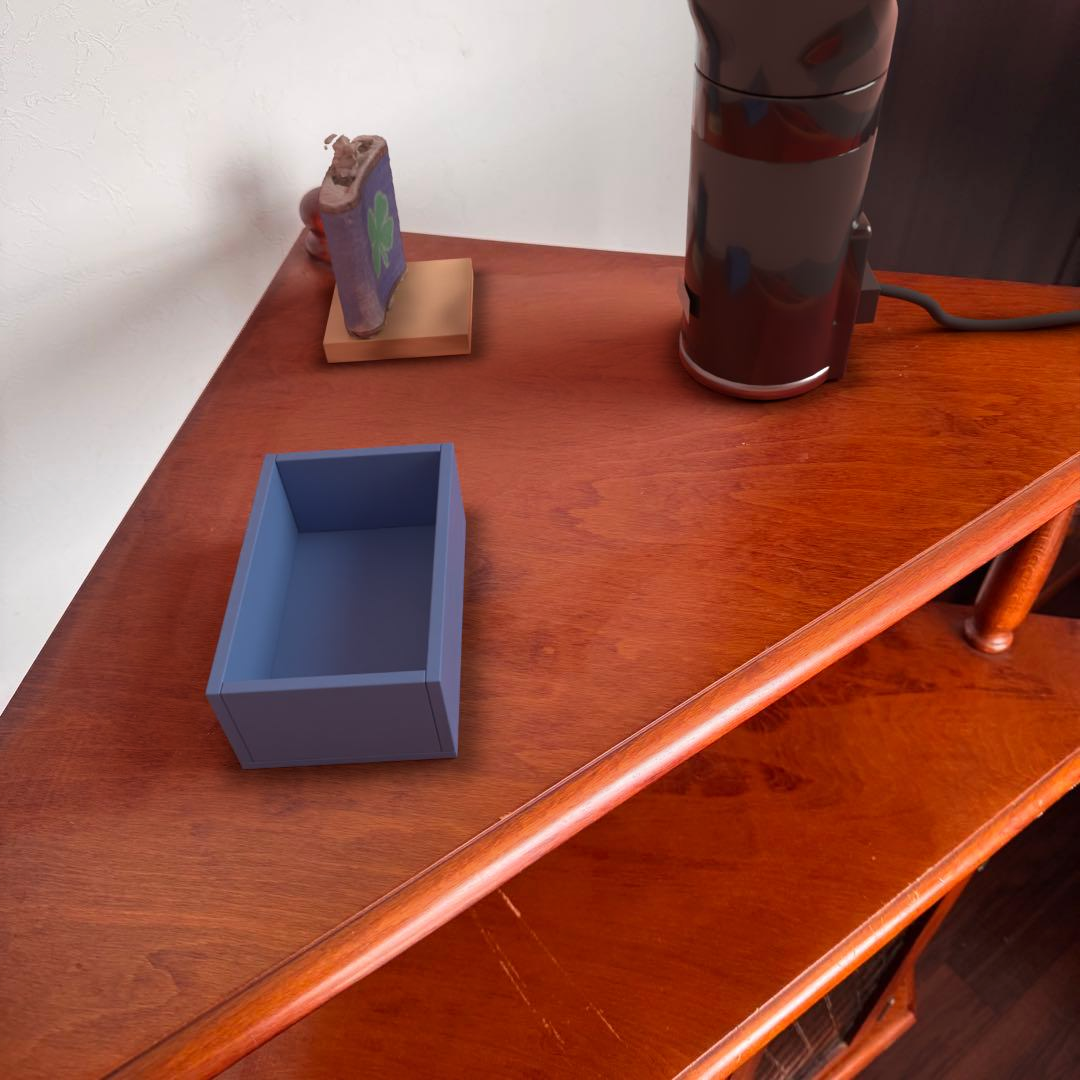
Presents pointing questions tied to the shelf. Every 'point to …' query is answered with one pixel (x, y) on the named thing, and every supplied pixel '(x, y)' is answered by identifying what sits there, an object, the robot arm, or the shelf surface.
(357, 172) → the flask
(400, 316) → the board
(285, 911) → the shelf surface
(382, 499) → the bin
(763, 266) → the robot arm
